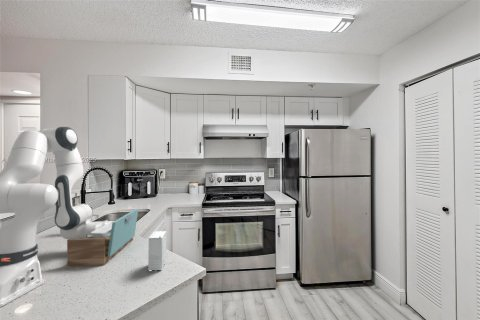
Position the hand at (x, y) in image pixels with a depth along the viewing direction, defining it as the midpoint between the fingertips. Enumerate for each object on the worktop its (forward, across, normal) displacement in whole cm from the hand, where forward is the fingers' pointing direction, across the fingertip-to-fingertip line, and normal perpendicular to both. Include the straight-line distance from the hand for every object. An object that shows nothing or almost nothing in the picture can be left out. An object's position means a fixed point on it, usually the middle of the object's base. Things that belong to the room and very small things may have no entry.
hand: (123, 229), depth 118 cm
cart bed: (-10, 0, +11) cm, 15 cm away
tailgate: (0, 0, +8) cm, 8 cm away
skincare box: (+23, -20, +11) cm, 33 cm away
